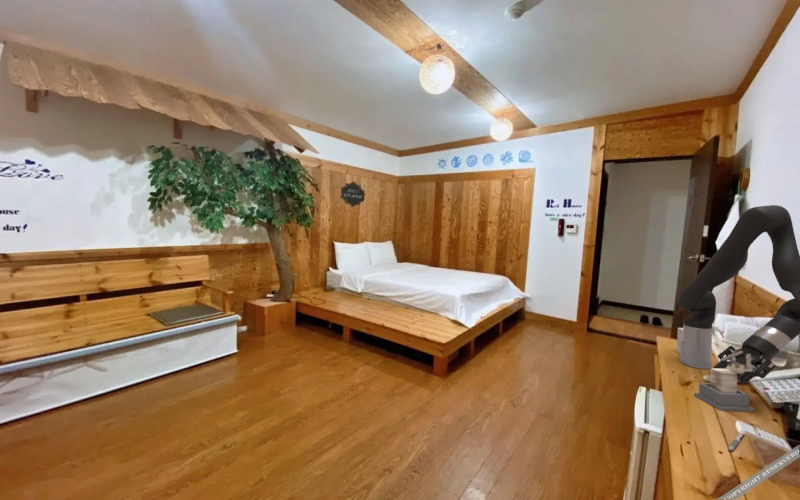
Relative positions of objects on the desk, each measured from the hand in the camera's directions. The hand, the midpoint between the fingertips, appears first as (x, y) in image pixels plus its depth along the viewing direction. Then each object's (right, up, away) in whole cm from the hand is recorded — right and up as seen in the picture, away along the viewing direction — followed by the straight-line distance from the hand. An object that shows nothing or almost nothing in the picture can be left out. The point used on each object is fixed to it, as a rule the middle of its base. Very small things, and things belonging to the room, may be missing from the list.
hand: (727, 375), depth 109 cm
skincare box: (+27, -8, +46) cm, 54 cm away
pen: (-18, -11, -21) cm, 30 cm away
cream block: (-1, -8, 0) cm, 8 cm away
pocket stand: (-1, -9, 0) cm, 9 cm away
